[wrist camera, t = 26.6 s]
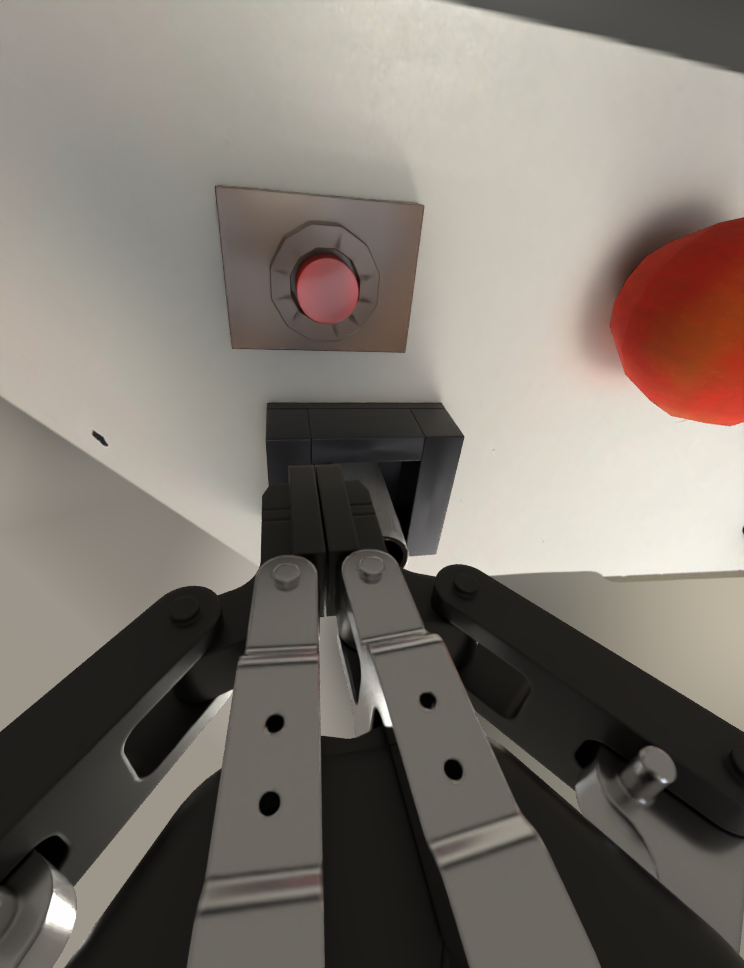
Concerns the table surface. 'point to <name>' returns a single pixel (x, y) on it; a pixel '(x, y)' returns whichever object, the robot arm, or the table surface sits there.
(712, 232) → the apple
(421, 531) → the open-top black bin
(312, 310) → the button
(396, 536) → the dark grey hollow cylinder
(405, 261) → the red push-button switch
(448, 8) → the table surface
